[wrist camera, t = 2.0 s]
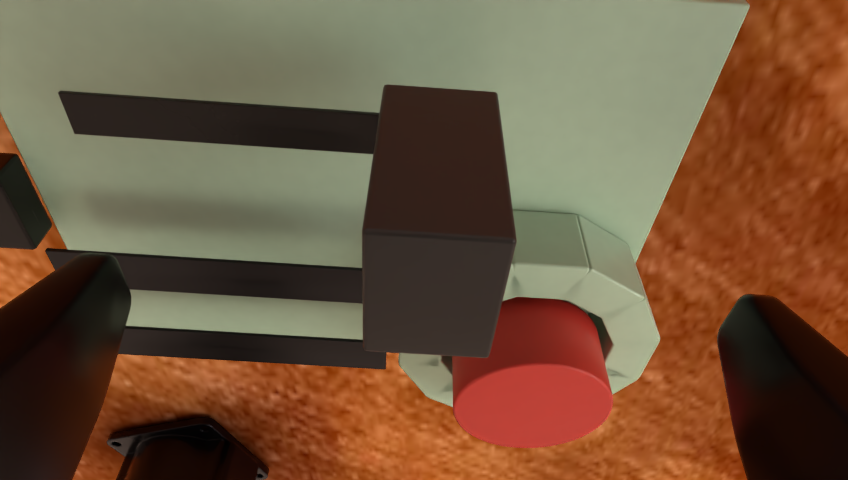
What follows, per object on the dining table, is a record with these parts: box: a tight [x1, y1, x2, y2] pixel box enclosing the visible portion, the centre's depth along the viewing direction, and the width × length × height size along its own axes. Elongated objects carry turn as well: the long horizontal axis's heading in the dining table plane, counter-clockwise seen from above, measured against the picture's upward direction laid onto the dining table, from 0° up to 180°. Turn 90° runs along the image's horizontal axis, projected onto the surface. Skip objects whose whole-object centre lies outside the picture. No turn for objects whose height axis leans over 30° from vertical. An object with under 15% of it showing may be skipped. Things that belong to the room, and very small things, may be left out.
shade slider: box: [362, 84, 517, 358], centre depth 10 cm, size 2×3×4 cm
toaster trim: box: [0, 91, 386, 369], centre depth 15 cm, size 13×8×2 cm, turn 86°
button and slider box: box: [0, 0, 749, 407], centre depth 16 cm, size 16×12×6 cm
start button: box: [452, 297, 613, 448], centre depth 16 cm, size 4×4×2 cm
